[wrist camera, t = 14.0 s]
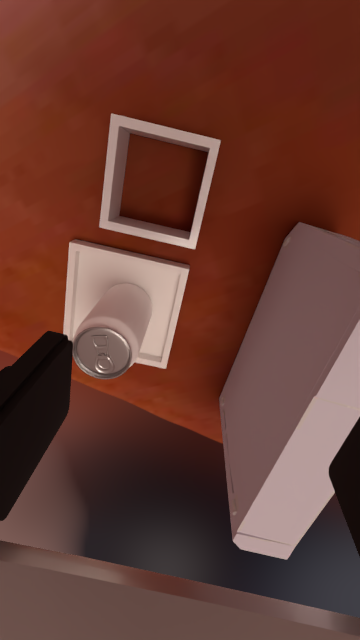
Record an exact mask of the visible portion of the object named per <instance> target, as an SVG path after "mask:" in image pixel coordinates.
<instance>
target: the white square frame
mask: <svg viewBox="0 0 360 640" xmlns="http://www.w3.org/2000/svg"><path fill="white" fill-rule="evenodd" d="M130 133H131V134H135V135H139V136H143V137H147V138H152V139H156V140H160V141H164V142H168V143H172V144H176V145H180V146H184V147H189V148H193V149H197V150H201V151H205V152H208V156H207V161H206V165H205V169H204V174H203V178H202V183H201V187H200V192H199V196H198V201H197V205H196V209H195V214H194V218H193V223H192V227H191V232H187V231H183V230H178V229H174V228H170V227H165V226H161V225H157V224H152V223H148V222H144V221H140V220H135V219H131V218H127V217H122V216H119V214H120V207H121V199H122V191H123V183H124V176H125V168H126V160H127V152H128V145H129V137H130ZM220 142H221V140H218V139H214V138H210V137H206V136H202V135H198V134H194V133H190V132H185V131H181V130H177V129H173V128H169V127H165V126H161V125H157V124H153V123H149V122H145V121H141V120H137V119H133V118H128V117H124V116H120V115H116V114H112V113H111V120H110V129H109V139H108V148H107V158H106V168H105V177H104V187H103V196H102V206H101V215H100V225H99V227H100V228H104V229H109V230H113V231H117V232H122V233H126V234H130V235H135V236H139V237H143V238H148V239H152V240H156V241H161V242H165V243H169V244H174V245H178V246H182V247H187V248H191V249H195V248H196V243H197V239H198V235H199V231H200V226H201V222H202V218H203V214H204V210H205V205H206V201H207V197H208V193H209V189H210V184H211V180H212V176H213V172H214V167H215V163H216V159H217V155H218V151H219V146H220Z"/></svg>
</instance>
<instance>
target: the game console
mask: <svg viewBox="0 0 360 640" xmlns="http://www.w3.org/2000/svg"><path fill="white" fill-rule="evenodd" d="M219 404H220V414H221V424H222V435H223V445H224V455H225V466H226V476H227V487H228V496H229V507H230V518H231V528H232V538H233V541H234V542H235V544H236V545H237V546H238V547H239V548H240V549H242V550H247V551H251V552H255V553H260V554H264V555H269V556H273V557H277V558H282V559H286V560H287V559H288V557H289V556H290V554H291V553H292V551H293V549H294V548H295V546H296V545H297V544H298V542H299V541H300V539H301V538H302V537H303V535H304V534H305V533H306V531H307V530H308V528H309V527H310V526H311V524H312V523H313V522H314V520H315V519H316V517H317V516H318V515H319V513H320V512H321V511H322V509H323V508H324V506H325V505H326V504H327V502H328V501H329V500H330V498H331V497H332V495H333V494H334V493H335V491H334V488H333V485H332V483H331V480H330V478H329V466H330V464H331V462H332V460H333V459H334V457H335V456H336V454H337V452H338V451H339V449H340V447H341V446H342V444H343V443H344V441H345V439H346V438H347V436H348V435H349V433H350V431H351V430H352V428H353V426H354V425H355V423H356V422H357V420H358V418H359V417H360V241H358V240H355V239H353V238H350V237H347V236H344V235H341V234H337V233H334V232H331V231H327V230H324V229H321V228H317V227H314V226H311V225H308V224H304V223H301V222H299V223H298V224H297V225H296V226H295V227H294V229H293V230H292V231H291V232H290V233H289V234H288V235H287V237H286V238H285V240H284V242H283V245H282V247H281V250H280V252H279V254H278V257H277V259H276V262H275V264H274V267H273V269H272V271H271V274H270V276H269V279H268V281H267V284H266V286H265V288H264V291H263V293H262V296H261V298H260V301H259V303H258V305H257V308H256V310H255V313H254V315H253V318H252V320H251V322H250V325H249V327H248V330H247V332H246V335H245V337H244V339H243V342H242V344H241V347H240V349H239V352H238V354H237V356H236V359H235V361H234V364H233V366H232V369H231V371H230V373H229V376H228V378H227V381H226V383H225V386H224V388H223V391H222V393H221V395H220V397H219Z"/></svg>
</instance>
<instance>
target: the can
mask: <svg viewBox="0 0 360 640" xmlns="http://www.w3.org/2000/svg"><path fill="white" fill-rule="evenodd" d="M151 316H152V302H151V300H150V298H149V296H148V295H147V293H146V292H145V291H144V290H143V289H141V288H140V287H138V286H136V285H133V284H127V283H123V284H118V285H115V286H113V287H112V288H110V289H109V290H108V291H107V292H106V293H105V294H104V296H103V297H102V298H101V299H100V300H99V302H98V303H97V304H96V305H95V306H94V308H93V309H92V310H91V311H90V313H89V314H88V315H87V316H86V318H85V319H84V320H83V321H82V323H81V324H80V325H79V327H78V329H77V330H76V333H75V336H74V342H73V358H74V360H75V362H76V364H77V365H78V366H79V368H80V369H81V370H83V371H84V372H85V373H87V374H88V375H90V376H92V377H95V378H99V379H112V378H116V377H118V376H120V375H122V374H123V373H125V372H126V371H127V369H128V368H129V367H131V366H132V365H133V363H134V362H135V360H136V359H137V357H138V354H139V351H140V349H141V346H142V343H143V340H144V337H145V334H146V331H147V328H148V325H149V322H150V319H151Z"/></svg>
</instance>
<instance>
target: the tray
mask: <svg viewBox="0 0 360 640" xmlns="http://www.w3.org/2000/svg"><path fill="white" fill-rule="evenodd" d="M189 267H190V265H187V264H183V263H178V262H174V261H169V260H165V259H161V258H156V257H152V256H148V255H143V254H139V253H134V252H130V251H126V250H121V249H117V248H112V247H108V246H104V245H99V244H95V243H90V242H86V241H82V240H77V239H75V240H73V241H71V242H69V256H68V271H67V286H66V301H65V316H64V331H63V334H65V335H67V336H68V340H70V341H72V342H74V336H75V333H76V330H77V329H78V327H79V325H80V324H81V323H82V321H83V320H84V319H85V318H86V316H87V315H88V314H89V313H90V311H91V310H92V309H93V308H94V306H95V305H96V304H97V303H98V302H99V300H100V299H101V298H102V297H103V296H104V294H105V293H106V292H107V291H108V290H109V289H110V288H112V287H113V286H115V285H118V284H123V283H127V284H133V285H136V286H138V287H140V288H141V289H143V290H144V291H145V292H146V293H147V295H148V296H149V298H150V300H151V302H152V316H151V319H150V322H149V325H148V328H147V331H146V334H145V337H144V340H143V343H142V346H141V349H140V351H139V354H138V357H137V359H136V360H135V362H136V363H141V364H146V365H150V366H155V367H160V368H164V369H166V366H167V362H168V357H169V353H170V349H171V345H172V340H173V336H174V332H175V328H176V324H177V319H178V315H179V311H180V307H181V302H182V298H183V294H184V290H185V285H186V281H187V277H188V273H189Z"/></svg>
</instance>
